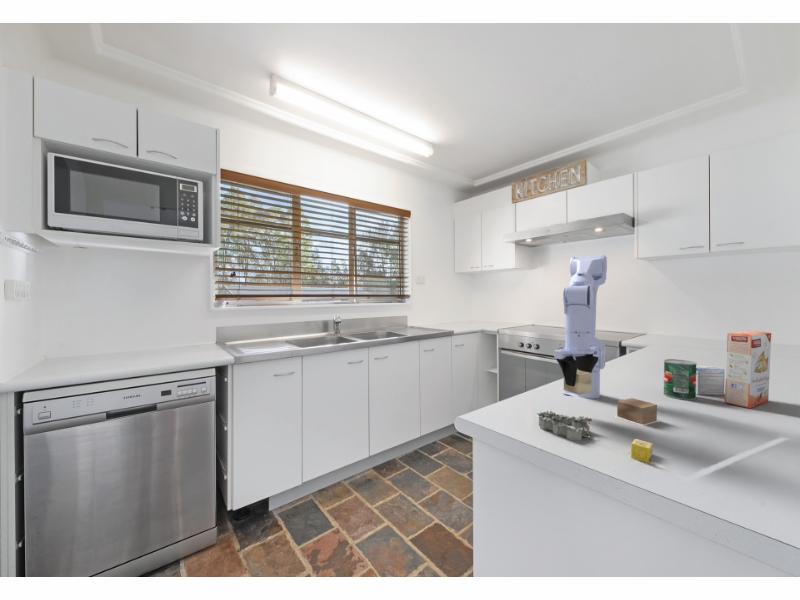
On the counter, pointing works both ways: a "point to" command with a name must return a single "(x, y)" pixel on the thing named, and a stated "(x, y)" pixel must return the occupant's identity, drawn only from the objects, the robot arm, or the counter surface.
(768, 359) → the cracker box
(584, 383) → the oak block
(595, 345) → the robot arm
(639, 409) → the walnut block
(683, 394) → the canned tomato
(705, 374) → the medicine box
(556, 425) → the egg carton
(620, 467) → the counter surface
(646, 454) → the alphabet block
